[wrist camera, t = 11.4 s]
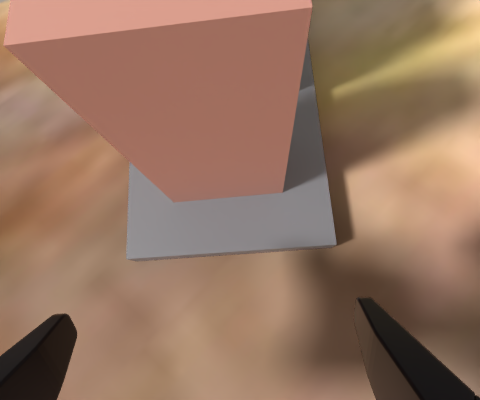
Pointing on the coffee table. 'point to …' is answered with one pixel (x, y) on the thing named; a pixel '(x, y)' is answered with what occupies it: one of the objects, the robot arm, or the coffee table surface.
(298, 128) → the shelf board
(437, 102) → the coffee table surface
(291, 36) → the block
